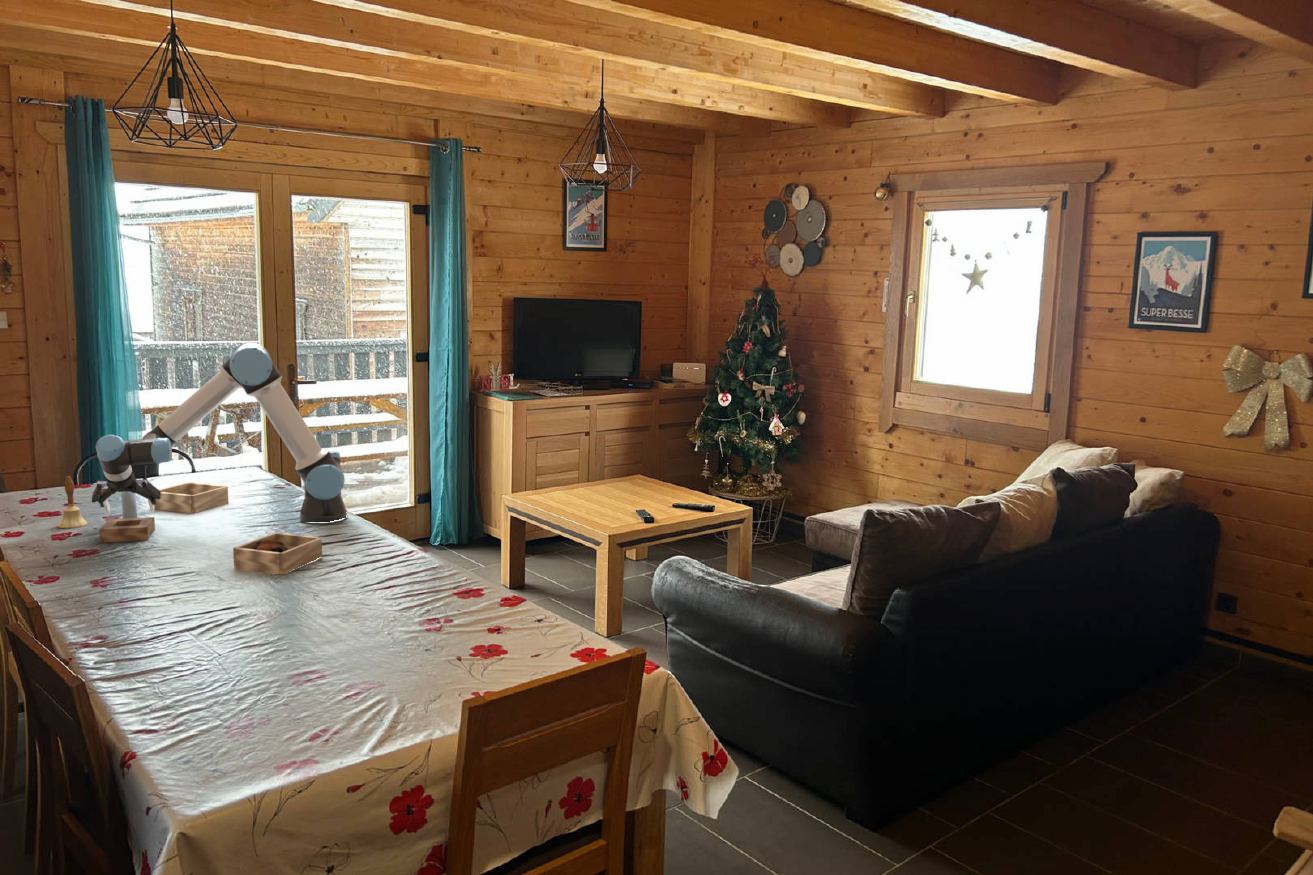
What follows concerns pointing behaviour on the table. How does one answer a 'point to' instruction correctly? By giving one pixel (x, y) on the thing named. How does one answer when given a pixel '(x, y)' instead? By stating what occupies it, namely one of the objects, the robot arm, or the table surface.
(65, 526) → the hand bell
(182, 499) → the wooden tray
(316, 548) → the open wooden box
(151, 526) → the socket
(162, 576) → the table surface
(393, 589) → the table surface
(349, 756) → the table surface
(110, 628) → the table surface
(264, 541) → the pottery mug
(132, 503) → the peg
